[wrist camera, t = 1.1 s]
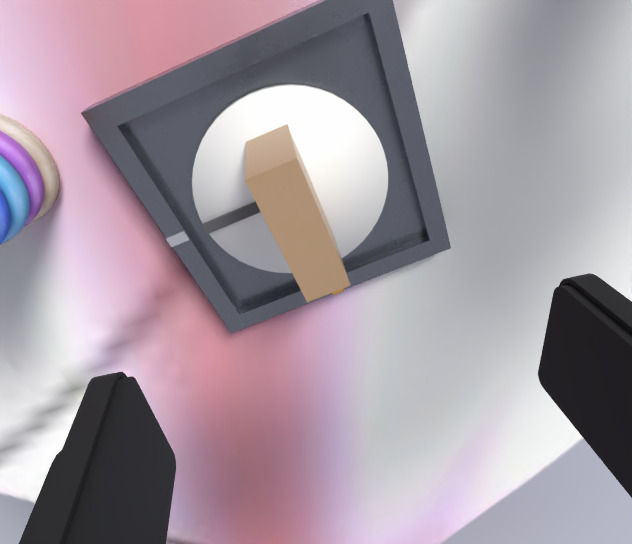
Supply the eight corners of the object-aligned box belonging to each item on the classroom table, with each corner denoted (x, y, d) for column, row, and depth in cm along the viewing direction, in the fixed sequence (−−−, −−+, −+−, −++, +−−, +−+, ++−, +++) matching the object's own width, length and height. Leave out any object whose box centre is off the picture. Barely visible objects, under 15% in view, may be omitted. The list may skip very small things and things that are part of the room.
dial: (350, 47, 27) (383, 65, 21) (404, 227, 35) (441, 283, 28) (153, 135, 29) (124, 179, 22) (247, 290, 36) (246, 357, 30)
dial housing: (376, -27, 26) (386, -28, 24) (441, 235, 37) (451, 249, 35) (91, 105, 28) (79, 113, 26) (232, 317, 39) (231, 334, 37)
